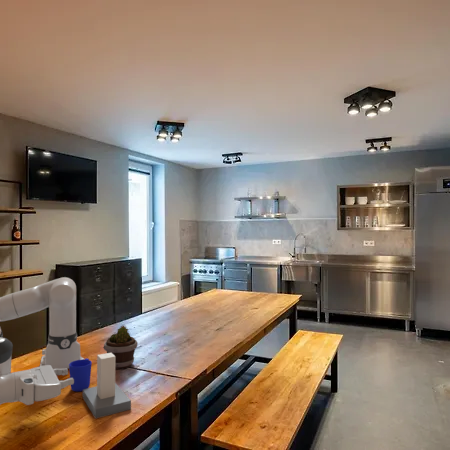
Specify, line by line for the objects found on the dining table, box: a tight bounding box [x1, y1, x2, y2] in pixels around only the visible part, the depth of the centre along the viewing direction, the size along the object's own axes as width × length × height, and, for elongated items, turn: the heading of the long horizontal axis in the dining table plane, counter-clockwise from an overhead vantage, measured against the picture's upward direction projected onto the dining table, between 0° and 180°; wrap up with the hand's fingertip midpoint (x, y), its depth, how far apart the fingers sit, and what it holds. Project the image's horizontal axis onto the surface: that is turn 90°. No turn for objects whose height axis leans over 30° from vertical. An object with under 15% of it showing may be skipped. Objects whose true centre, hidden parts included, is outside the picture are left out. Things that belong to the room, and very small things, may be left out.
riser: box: [82, 382, 132, 419], centre depth 134 cm, size 18×12×3 cm, turn 34°
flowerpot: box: [102, 324, 138, 370], centre depth 171 cm, size 14×15×20 cm
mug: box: [68, 358, 93, 392], centre depth 148 cm, size 8×12×10 cm
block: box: [96, 352, 116, 399], centre depth 134 cm, size 5×5×14 cm
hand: (70, 375), depth 128 cm, fingers open, 8 cm apart
